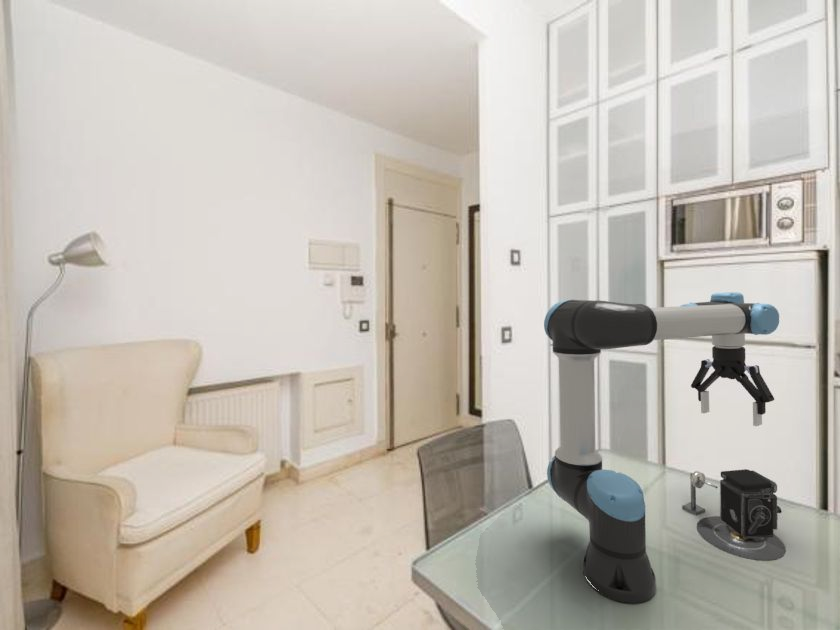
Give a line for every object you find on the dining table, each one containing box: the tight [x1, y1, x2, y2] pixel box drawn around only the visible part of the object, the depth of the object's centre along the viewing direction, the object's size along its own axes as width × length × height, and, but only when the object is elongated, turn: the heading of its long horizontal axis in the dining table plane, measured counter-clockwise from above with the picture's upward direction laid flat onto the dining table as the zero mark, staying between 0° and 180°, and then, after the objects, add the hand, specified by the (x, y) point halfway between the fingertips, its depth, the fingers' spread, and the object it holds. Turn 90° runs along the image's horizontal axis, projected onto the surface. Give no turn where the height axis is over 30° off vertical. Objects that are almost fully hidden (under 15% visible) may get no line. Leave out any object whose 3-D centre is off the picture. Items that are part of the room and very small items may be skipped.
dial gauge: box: [681, 470, 718, 516], centre depth 114 cm, size 4×8×12 cm, turn 21°
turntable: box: [696, 515, 786, 562], centre depth 103 cm, size 18×18×1 cm
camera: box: [719, 468, 782, 538], centre depth 105 cm, size 10×10×15 cm
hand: (730, 418), depth 115 cm, fingers open, 13 cm apart
